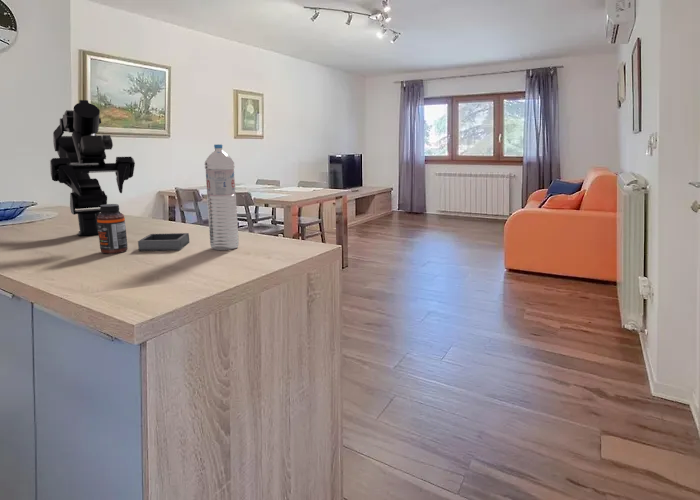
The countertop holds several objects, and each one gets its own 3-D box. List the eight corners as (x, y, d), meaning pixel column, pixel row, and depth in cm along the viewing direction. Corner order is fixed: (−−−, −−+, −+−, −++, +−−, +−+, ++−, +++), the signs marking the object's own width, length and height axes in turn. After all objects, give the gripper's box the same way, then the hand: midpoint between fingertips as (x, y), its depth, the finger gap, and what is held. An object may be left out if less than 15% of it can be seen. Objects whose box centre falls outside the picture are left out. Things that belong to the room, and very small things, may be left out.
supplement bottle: (95, 252, 115) (89, 205, 112) (117, 248, 120) (112, 202, 118) (111, 255, 112) (105, 206, 110) (133, 250, 117) (128, 204, 115)
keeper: (138, 251, 116) (137, 241, 116) (151, 243, 125) (150, 233, 125) (179, 250, 117) (178, 240, 116) (189, 242, 126) (188, 233, 126)
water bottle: (231, 251, 115) (225, 144, 110) (205, 250, 117) (197, 144, 111) (243, 245, 122) (237, 144, 116) (218, 244, 123) (211, 144, 118)
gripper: (45, 123, 114) (57, 172, 108) (129, 124, 125) (144, 169, 119) (46, 156, 122) (57, 204, 116) (125, 155, 133) (139, 198, 127)
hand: (101, 193), depth 119 cm, fingers open, 9 cm apart
